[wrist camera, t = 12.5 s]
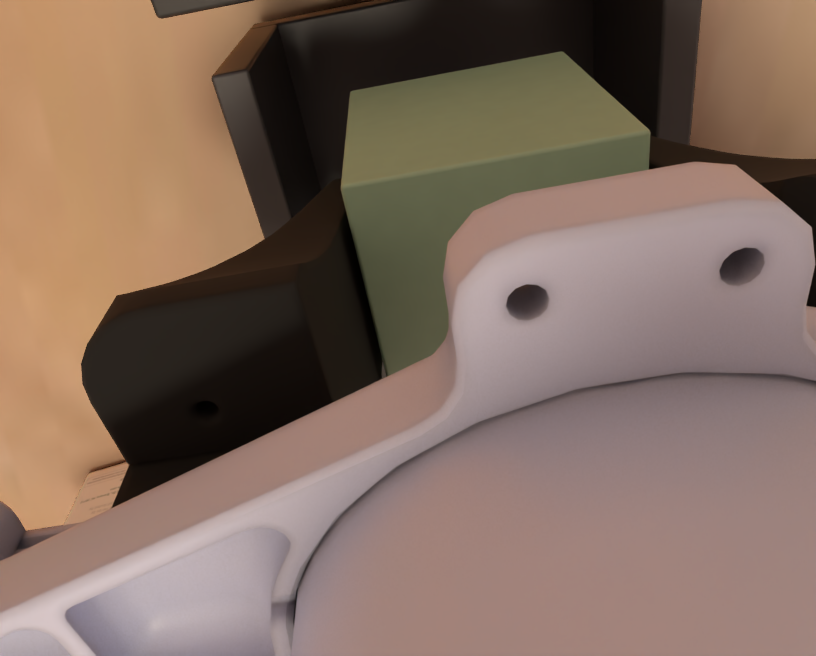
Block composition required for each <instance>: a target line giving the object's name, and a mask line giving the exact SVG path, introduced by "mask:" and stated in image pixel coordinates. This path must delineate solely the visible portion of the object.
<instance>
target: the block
mask: <svg viewBox="0 0 816 656" xmlns="http://www.w3.org/2000/svg"><path fill="white" fill-rule="evenodd" d="M649 153H650V131H649V129H648V128H647V127H646V126H644V125H643V124H642V123H641V122H640V121H639V120H638V119H637V118H636V117H635V116H633V115H632V114H631V113H630V112H629V111H628V110H627V109H626V108H625V107H624V106H622V105H621V104H620V103H619V102H618V101H617V100H616V99H615V98H614V97H613V96H611V95H610V94H609V93H608V92H607V91H606V90H605V89H604V88H603V87H601V86H600V85H599V84H598V83H597V82H596V81H595V80H594V79H593V78H592V77H590V76H589V75H588V74H587V73H586V72H585V71H584V70H583V69H582V68H581V67H579V66H578V65H577V64H576V63H575V62H574V61H573V60H572V59H571V58H570V57H568V56H567V55H566V54H565V53H564V52H555V53H550V54H545V55H539V56H534V57H529V58H524V59H518V60H513V61H508V62H502V63H497V64H492V65H486V66H481V67H476V68H471V69H465V70H460V71H455V72H449V73H444V74H439V75H434V76H428V77H423V78H418V79H412V80H407V81H402V82H396V83H391V84H386V85H381V86H375V87H370V88H365V89H359V90H354V91H351V92H350V98H349V108H348V119H347V129H346V139H345V149H344V159H343V169H342V180H341V192H342V197H343V201H344V205H345V209H346V213H347V217H348V221H349V225H350V229H351V233H352V237H353V241H354V246H355V250H356V254H357V258H358V262H359V266H360V270H361V274H362V278H363V282H364V286H365V290H366V295H367V299H368V303H369V307H370V311H371V315H372V319H373V323H374V327H375V331H376V335H377V339H378V344H379V348H380V352H381V356H382V360H383V364H384V368H385V372H386V376H389V375H391V374H393V373H395V372H398V371H400V370H402V369H404V368H406V367H408V366H410V365H412V364H414V363H416V362H418V361H420V360H423V359H425V358H427V357H429V356H431V355H433V354H434V353H435V352H436V350H437V349H438V348H439V347H440V345H441V344H442V343H443V342H444V340H445V338H446V335H447V332H448V329H449V313H448V307H447V300H446V294H445V288H444V282H443V272H444V265H445V258H446V252H447V245H448V241H449V240H450V239H451V238H452V236H453V235H454V234H455V233H456V231H457V230H458V229H459V228H460V227H461V225H462V224H463V223H464V222H465V220H466V219H467V218H468V217H469V216H470V214H471V213H472V212H473V211H474V210H476V209H479V208H481V207H483V206H486V205H488V204H490V203H493V202H495V201H497V200H499V199H502V198H504V197H506V196H509V195H511V194H514V193H520V192H525V191H531V190H537V189H542V188H548V187H554V186H559V185H565V184H571V183H576V182H582V181H588V180H593V179H599V178H605V177H610V176H616V175H622V174H627V173H633V172H639V171H644V170H649Z"/></svg>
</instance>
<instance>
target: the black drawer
mask: <svg viewBox="0 0 816 656" xmlns="http://www.w3.org/2000/svg"><path fill="white" fill-rule="evenodd" d="M248 1H253V0H151V2H152V5H153V7H154V10H155V13H156V15H157V16H158V18H162V19H163V18H168V17H173V16H178V15H183V14H188V13H193V12H198V11H203V10H208V9H213V8H218V7H223V6H228V5H233V4H238V3H243V2H248ZM701 6H702V0H374V1H369V2H364V3H359V4H354V5H349V6H344V7H339V8H333V9H328V10H323V11H318V12H313V13H308V14H303V15H298V16H293V17H288V18H283V19H278V20H272V21H267V22H262V23H257V24H254V25H253V26H252V28H251V29H250V30H249V31H248V32H247V33H246V35H245V36H244V37H243V38H242V40H241V41H240V42H239V43H238V45H237V46H236V47H235V48H234V50H233V51H232V52H231V53H230V55H229V56H228V57H227V58H226V60H225V61H224V62H223V63H222V65H221V66H220V67H219V68H218V69H217V71H216V72H215V73H214V74H213V76H212V82H213V85H214V88H215V91H216V94H217V97H218V100H219V103H220V106H221V109H222V112H223V115H224V118H225V121H226V124H227V127H228V130H229V133H230V136H231V139H232V142H233V145H234V148H235V151H236V154H237V157H238V160H239V163H240V166H241V169H242V172H243V175H244V178H245V181H246V184H247V187H248V190H249V193H250V196H251V199H252V202H253V205H254V208H255V211H256V214H257V217H258V220H259V223H260V226H261V229H262V232H263V235H264V238H265V239H266V238H267V237H269V236H270V235H272V234H273V233H274V232H276V231H277V230H278V229H280V228H281V227H282V226H283V225H284V224H286V223H287V222H288V221H289V220H290V219H291V218H293V217H294V216H295V215H296V214H297V213H299V212H300V211H301V210H302V209H303V208H304V207H305V206H306V205H307V204H308V203H309V202H310V201H311V200H312V199H313V198H314V197H315V196H316V195H317V194H318V193H319V192H320V191H321V190H322V189H323V188H324V187H326V186H327V185H328V184H329V183H330V182H331V181H333V180H335V179H339V178H342V169H343V159H344V149H345V139H346V129H347V119H348V108H349V98H350V92H351V91H354V90H359V89H365V88H370V87H375V86H381V85H386V84H391V83H396V82H402V81H407V80H412V79H418V78H423V77H428V76H434V75H439V74H444V73H449V72H455V71H460V70H465V69H471V68H476V67H481V66H486V65H492V64H497V63H502V62H508V61H513V60H518V59H524V58H529V57H534V56H539V55H545V54H550V53H555V52H564V53H565V54H566V55H567V56H568V57H570V58H571V59H572V60H573V61H574V62H575V63H576V64H577V65H578V66H579V67H581V68H582V69H583V70H584V71H585V72H586V73H587V74H588V75H589V76H590V77H592V78H593V79H594V80H595V81H596V82H597V83H598V84H599V85H600V86H601V87H603V88H604V89H605V90H606V91H607V92H608V93H609V94H610V95H611V96H613V97H614V98H615V99H616V100H617V101H618V102H619V103H620V104H621V105H622V106H624V107H625V108H626V109H627V110H628V111H629V112H630V113H631V114H632V115H633V116H635V117H636V118H637V119H638V120H639V121H640V122H641V123H642V124H643V125H644V126H646V127H647V128H648V129H649V131H650V136H653V137H657V138H661V139H665V140H669V141H673V142H677V143H681V144H686V145H690V135H691V123H692V112H693V100H694V88H695V76H696V64H697V53H698V41H699V29H700V17H701Z"/></svg>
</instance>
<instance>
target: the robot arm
mask: <svg viewBox="0 0 816 656" xmlns="http://www.w3.org/2000/svg"><path fill="white" fill-rule="evenodd" d="M341 180H342V178H339V179H335V180H333V181H331V182H330V183H329V184H328V185H327V186H326V187H324V188H323V189H322V190H321V191H320V192H319V193H318V194H317V195H316V196H315V197H314V198H313V199H312V200H311V201H310V202H309V203H308V204H307V205H306V206H305V207H304V208H303V209H302V210H301V211H300V212H299V213H297V214H296V215H295V216H294V217H293V218H291V219H290V220H289V221H288V222H287V223H286V224H284V225H283V226H282V227H281V228H280V229H278V230H277V231H276V232H274V233H273V234H272V235H270V236H269V237H267V238H266V239H264V240H263V241H261V242H260V243H258V244H256V245H255V246H253V247H252V248H250V249H248V250H247V251H245V252H243V253H241V254H239V255H237V256H235V257H233V258H231V259H229V260H227V261H224V262H222V263H220V264H218V265H216V266H214V267H212V268H209V269H207V270H204V271H202V272H199V273H197V274H194V275H191V276H188V277H185V278H182V279H179V280H176V281H173V282H170V283H167V284H163V285H159V286H155V287H151V288H147V289H143V290H139V291H135V292H131V293H127V294H122V295H117V296H116V298H115V299H114V301H113V303H112V304H111V306H110V308H109V309H108V311H107V313H106V314H105V316H104V318H103V319H102V321H101V323H100V324H99V326H98V327H97V329H96V331H95V332H94V334H93V336H92V337H91V339H90V341H89V342H88V344H87V347H86V350H85V353H84V356H83V360H82V363H81V368H82V381H83V386H84V388H85V390H86V393H87V395H88V397H89V400H90V402H91V404H92V406H93V407H94V409H95V411H96V412H97V414H98V415H99V417H100V419H101V420H102V422H103V424H104V425H105V427H106V429H107V430H108V432H109V434H110V435H111V437H112V439H113V440H114V442H115V443H116V445H117V447H118V448H119V450H120V452H121V453H122V455H123V457H124V458H125V460H126V462H127V463H128V465H129V466H128V469H127V471H126V474H125V476H124V479H123V481H122V483H121V486H120V488H119V491H118V493H117V496H116V498H115V500H114V503H113V505H112V508H111V509H109V510H107V511H105V512H103V513H101V514H99V515H96V516H94V517H92V518H90V519H88V520H86V521H84V522H80V523H74V524H67V525H61V526H54V527H48V528H41V529H35V530H28V531H26V530H25V529H24V527H23V525H22V524H21V522H20V520H19V518H18V517H17V516H16V515H15V513H14V512H13V511H12V510H11V508H9V507H8V506H7V505H5V504H4V503H3V502H1V501H0V656H816V159H782V158H768V157H758V156H748V155H739V154H732V153H726V152H720V151H715V150H710V149H704V148H699V147H695V146H690V145H686V144H681V143H677V142H673V141H669V140H665V139H661V138H657V137H653V136H650V153H649V170H644V171H639V172H633V173H627V174H622V175H616V176H610V177H605V178H599V179H593V180H588V181H582V182H576V183H571V184H565V185H559V186H554V187H548V188H542V189H537V190H531V191H525V192H520V193H514V194H511V195H509V196H506V197H504V198H502V199H499V200H497V201H495V202H493V203H490V204H488V205H486V206H483V207H481V208H479V209H476V210H474V211H473V212H472V213H471V214H470V216H469V217H468V218H467V219H466V220H465V222H464V223H463V224H462V225H461V227H460V228H459V229H458V230H457V231H456V233H455V234H454V235H453V236H452V238H451V239H450V240H449V241H448V245H447V252H446V258H445V265H444V272H443V282H444V288H445V294H446V300H447V307H448V313H449V329H448V332H447V335H446V338H445V340H444V342H443V343H442V344H441V345H440V347H439V348H438V349H437V350H436V352H435V353H434V354H433V355H431V356H429V357H427V358H425V359H423V360H420V361H418V362H416V363H414V364H412V365H410V366H408V367H406V368H404V369H402V370H400V371H398V372H395V373H393V374H391V375H389V376H387V377H385V378H383V379H382V362H383V360H382V356H381V352H380V348H379V344H378V339H377V335H376V331H375V327H374V323H373V319H372V315H371V311H370V307H369V303H368V299H367V295H366V290H365V286H364V282H363V278H362V274H361V270H360V266H359V262H358V258H357V254H356V250H355V246H354V241H353V237H352V233H351V229H350V225H349V221H348V217H347V213H346V209H345V205H344V201H343V197H342V192H341Z"/></svg>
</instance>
